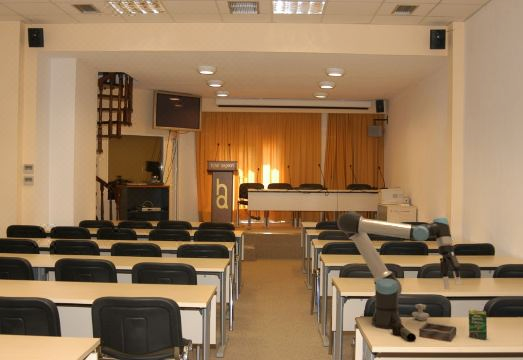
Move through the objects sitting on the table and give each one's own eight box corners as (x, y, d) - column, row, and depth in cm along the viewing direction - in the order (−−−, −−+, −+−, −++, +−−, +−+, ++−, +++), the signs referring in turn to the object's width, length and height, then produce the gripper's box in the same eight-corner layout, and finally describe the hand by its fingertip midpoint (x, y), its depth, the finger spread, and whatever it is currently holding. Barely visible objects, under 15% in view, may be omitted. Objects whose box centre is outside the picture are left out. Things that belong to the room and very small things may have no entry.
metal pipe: (416, 342, 233) (416, 330, 233) (402, 342, 232) (402, 330, 232) (400, 331, 251) (400, 320, 251) (388, 331, 250) (388, 320, 250)
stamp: (422, 317, 279) (422, 302, 279) (430, 320, 273) (431, 305, 273) (409, 319, 275) (409, 304, 275) (418, 322, 269) (418, 306, 269)
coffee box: (468, 337, 241) (468, 310, 242) (468, 335, 244) (469, 309, 244) (486, 340, 237) (486, 312, 238) (486, 338, 240) (487, 311, 240)
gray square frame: (419, 336, 241) (419, 328, 241) (426, 329, 254) (426, 322, 254) (450, 341, 234) (450, 333, 234) (456, 334, 246) (456, 326, 246)
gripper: (462, 239, 250) (470, 281, 242) (443, 252, 273) (450, 291, 265) (447, 239, 250) (455, 282, 241) (429, 252, 273) (436, 291, 264)
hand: (453, 286), depth 253 cm, fingers open, 13 cm apart
